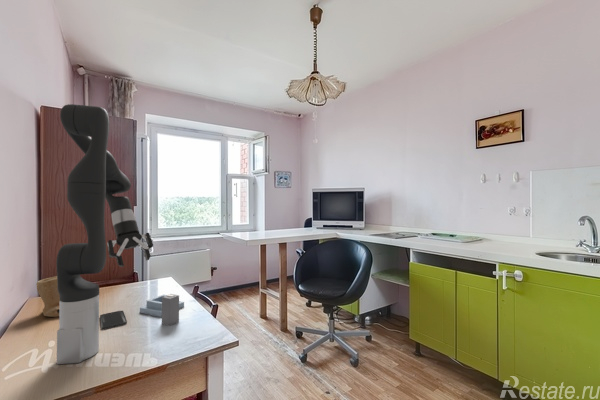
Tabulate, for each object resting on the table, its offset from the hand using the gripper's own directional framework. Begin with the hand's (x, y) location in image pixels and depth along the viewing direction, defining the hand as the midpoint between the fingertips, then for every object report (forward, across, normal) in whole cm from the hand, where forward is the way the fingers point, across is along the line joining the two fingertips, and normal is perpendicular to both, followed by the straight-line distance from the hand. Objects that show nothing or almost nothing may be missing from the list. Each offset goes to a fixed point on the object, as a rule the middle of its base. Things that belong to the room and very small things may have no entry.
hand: (135, 263), depth 101 cm
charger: (+25, +7, +3) cm, 26 cm away
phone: (+17, -8, +19) cm, 26 cm away
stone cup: (+4, -23, +42) cm, 48 cm away
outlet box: (+19, +9, +17) cm, 27 cm away
